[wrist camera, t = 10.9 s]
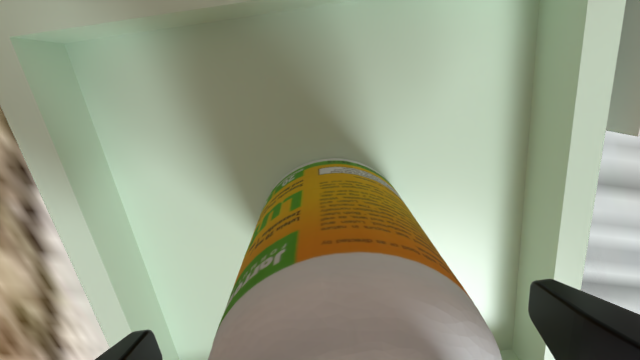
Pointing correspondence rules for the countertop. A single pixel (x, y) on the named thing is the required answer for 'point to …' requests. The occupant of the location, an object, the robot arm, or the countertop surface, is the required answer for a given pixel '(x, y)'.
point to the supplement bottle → (346, 278)
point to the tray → (308, 138)
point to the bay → (627, 76)
